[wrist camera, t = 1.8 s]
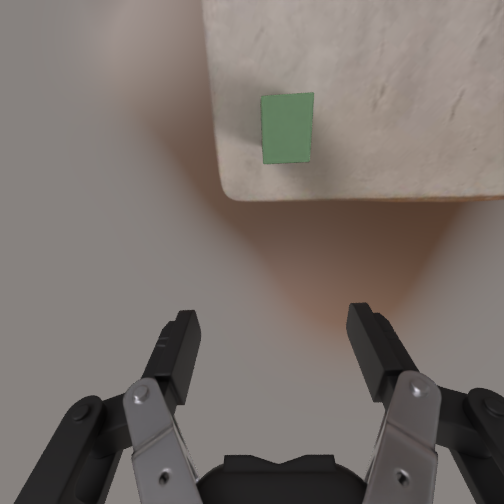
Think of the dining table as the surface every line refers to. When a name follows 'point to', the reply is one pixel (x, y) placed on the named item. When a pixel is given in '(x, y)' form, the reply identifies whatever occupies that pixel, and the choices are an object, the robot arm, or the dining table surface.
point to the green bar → (286, 127)
